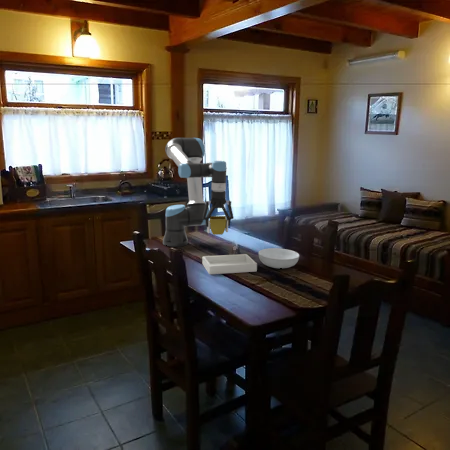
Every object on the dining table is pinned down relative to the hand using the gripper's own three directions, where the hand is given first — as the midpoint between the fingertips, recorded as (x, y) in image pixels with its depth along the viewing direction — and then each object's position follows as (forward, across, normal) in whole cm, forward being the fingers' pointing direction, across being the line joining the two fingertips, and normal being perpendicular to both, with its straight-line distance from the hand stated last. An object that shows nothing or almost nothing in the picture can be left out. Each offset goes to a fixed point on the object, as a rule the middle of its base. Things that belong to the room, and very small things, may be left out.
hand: (217, 231), depth 230 cm
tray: (+14, +2, -17) cm, 23 cm away
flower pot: (+1, 0, 0) cm, 1 cm away
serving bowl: (+15, +28, -19) cm, 37 cm away
